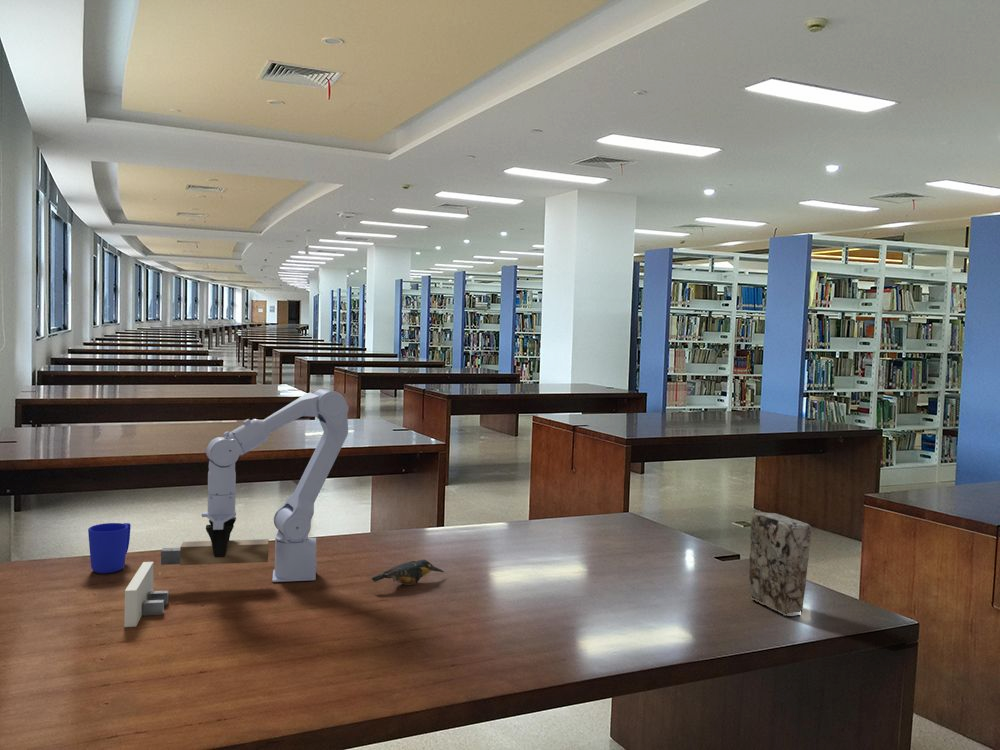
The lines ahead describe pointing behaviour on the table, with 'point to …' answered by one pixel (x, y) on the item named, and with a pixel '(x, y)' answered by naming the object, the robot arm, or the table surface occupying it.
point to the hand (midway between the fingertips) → (220, 553)
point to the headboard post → (143, 596)
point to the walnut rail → (204, 553)
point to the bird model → (408, 572)
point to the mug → (108, 546)
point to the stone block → (779, 561)
